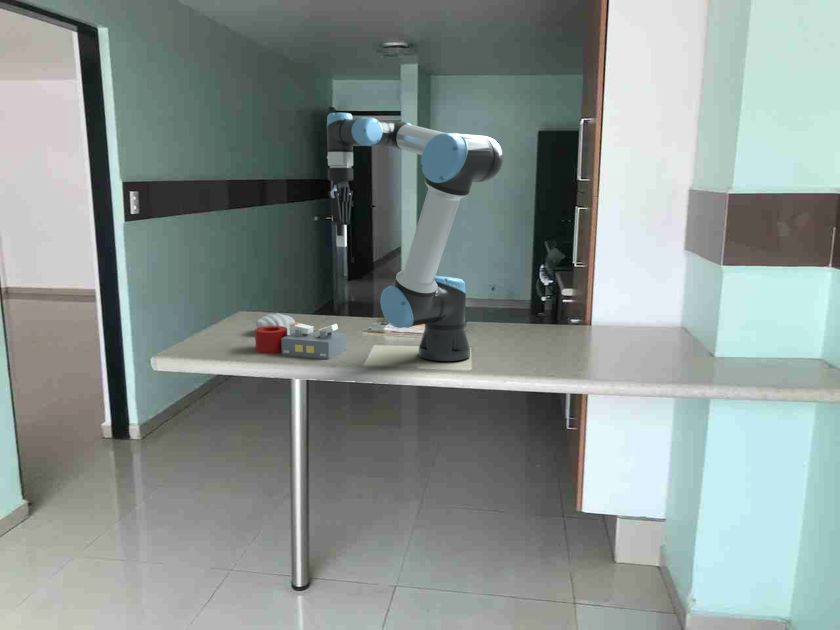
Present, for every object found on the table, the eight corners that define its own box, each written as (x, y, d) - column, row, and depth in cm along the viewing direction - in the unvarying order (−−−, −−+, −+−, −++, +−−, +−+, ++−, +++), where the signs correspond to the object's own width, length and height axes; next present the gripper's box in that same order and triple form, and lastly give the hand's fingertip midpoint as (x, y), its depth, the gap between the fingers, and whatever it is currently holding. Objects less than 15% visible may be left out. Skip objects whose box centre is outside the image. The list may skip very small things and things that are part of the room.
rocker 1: (313, 331, 201) (313, 326, 201) (307, 334, 198) (308, 328, 197) (295, 327, 203) (295, 322, 202) (289, 330, 199) (290, 324, 199)
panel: (345, 349, 204) (345, 326, 202) (328, 359, 192) (327, 334, 191) (301, 345, 208) (300, 322, 207) (281, 355, 197) (280, 331, 195)
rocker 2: (338, 328, 198) (336, 322, 198) (333, 330, 195) (331, 325, 195) (321, 334, 200) (319, 329, 200) (316, 337, 197) (313, 331, 197)
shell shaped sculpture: (259, 330, 229) (259, 311, 228) (297, 330, 230) (296, 311, 229) (252, 339, 217) (252, 319, 215) (292, 339, 217) (292, 319, 216)
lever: (276, 356, 197) (276, 333, 195) (249, 353, 200) (248, 331, 199) (308, 342, 213) (307, 322, 212) (282, 340, 216) (281, 319, 215)
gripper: (338, 167, 208) (339, 244, 213) (319, 166, 196) (321, 247, 200) (360, 167, 206) (361, 245, 210) (343, 166, 194) (344, 248, 198)
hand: (341, 246), depth 205 cm, fingers closed
